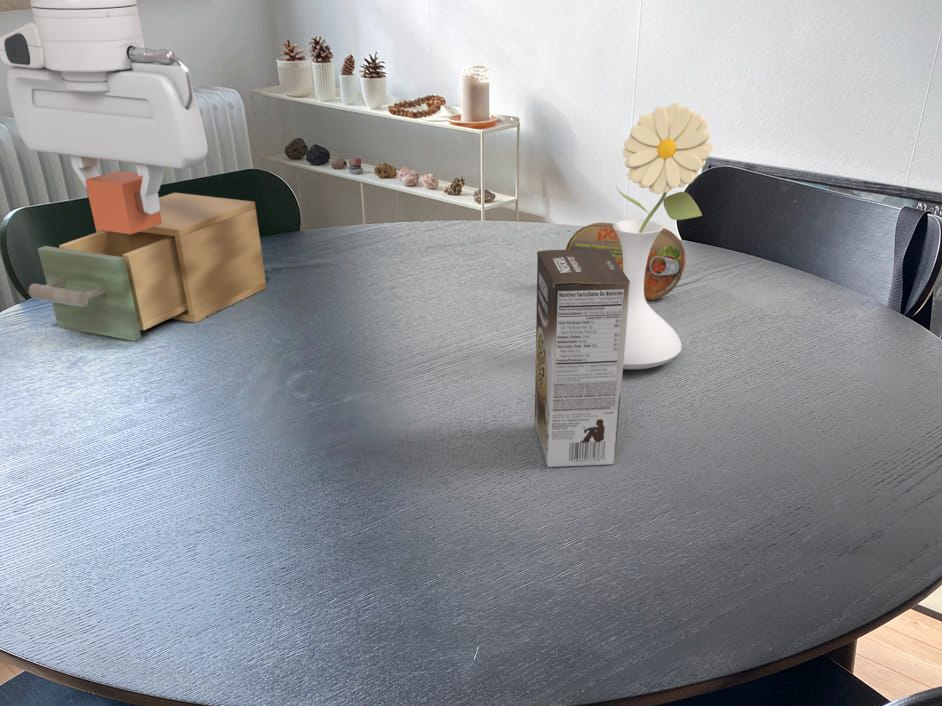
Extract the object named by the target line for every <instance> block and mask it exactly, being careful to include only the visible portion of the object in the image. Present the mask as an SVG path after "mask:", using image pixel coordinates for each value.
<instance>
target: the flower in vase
mask: <svg viewBox="0 0 942 706" xmlns="http://www.w3.org/2000/svg"><path fill="white" fill-rule="evenodd" d="M708 124H709V123H708V120H706V119H704V118H703V115H702V114H701V113H697V114H696V112H695V111H693V110H692V108H691V107H689V106H682V105H681V106H680V104H679V103H678V102H673V103H671V104H670V105H669V106H665V107H664V106H661V105H659V106H657V107H655V108H654V110H653V112H650V113H648V114H646V113H643V114H641V115H640V116H639V118H638V121H637V123H636V125H633V126H632V127H631V128H630V134H629V136H628V139H626V140H625V141H624V145H623V147H624V148H623V150H622V157H624V158H625V161H624V167H626V168H627V169H628V171H627V173H626V177H627V178H628V179H629V180H631V182H632V183H633V184H638V187H639V188H641V189H644V188H645V189H647V188H648V190H649V192H650V193H653V194H656V195H661V194H662V196H661V197H660V199H659V200H658V202H657V203H656V204H655V206H654V207H653V209H652V210H651V211H650V212H649V211H647V210H646V208H645V207H644V206H643V205H642V204H641V203H640V202H639V201H637V200H636V199H634V198H632V197H630V196H628V195H626V194H624V193H623V192H622V191H621V190H620V189H619V188H618V186H617V185H615V186H616V190H617V191H618V193H619V194H620V195H621V196H622V197H623V198H625V199H626V200H628V202H631V203H633V204H634V205H636V206H638V207H639V208H641V210H643V211H644V212H646V213H647V214H648V215H647V216H646V218H645V219H626V220H621V221H617V222H615V223H613V224H614V225H613V229H614V230H615V232H616V234H617V235H618V238H619V240H620V243H621V247H622V255H623V272H624V273H625V275H626V276H627V278H628V279H629V281H630V290H629V303H628V315H627V327H626V339H625V351H624V362H623V370H646V369H651V368H656V367H659V366H662V365H665V364H668V363H670V362H672V361H673V360H675V359H676V357H678V355H679V354H680V352H681V351H682V348H683V347H682V342H681V339H680V336H679V335H678V334H677V332H676V331H675V330H674V328H673V327H672V326H671V325H670V324H669V323H668V322H667V321H665V319H664V318H662V317H661V316H660V315H659V314H658V313H657V312H656V311H655V310H654V309H653V308H652V307H651V306H650V305H649V303H648V302H647V300H645V297H644V277H645V269H646V264H647V259H648V256H649V252H650V249H651V247H652V244H653V242H654V240H655V239H656V237H657V236H658V234H659V233H660V232H661V231H662V229H663V228H664V226H663V225H662V224H661V223H659V222H656V221H653V220H652V221H651V218H652V217H653V216H654V214H655V213H656V212H657V210H658V209H659V208H660V207H661V205H663V207H664V210H665V211H666V214H667V215H668V217H669V218H670V219H671V220H674V221H683V220H688V219H694V218H699V217H702V216H703V214H702V212H701V210H700V208H699V206H698V204H697V203H696V202H695V200H694V199H693V198H692V196H691V195H690V194H689V193H688V192H687V191H678V192H675V193H673V194H670V195H668V196H667V194H668V193H669V192H671V191H672V189H676V188H684V187H686V185H690V184H692V183H693V182H694V181H695V179H696V178H697V177H698V175H699V170H700V169H702V168H704V167H705V166H706V163H707V162H706V160H707V159H708V158H709V157H710V154H711V152H712V151H713V144H712V143H711V142H710V141H709V140H710V138H711V133H710V131H709V130H707V128H708Z"/></svg>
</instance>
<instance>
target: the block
mask: <svg viewBox="0 0 942 706" xmlns="http://www.w3.org/2000/svg"><path fill="white" fill-rule="evenodd" d="M142 179H143V176H139V175H138V174H137V172H130V171H125V170H124V171H123V170H121V171H120V170H116V171H112V172H108V173H105V174H100V176H97V177H93V178H90V179H86V180H85V182H86V186H87V187H86V191H88V192H87V196H88V200H90V201H89V204H90V205H89V206H90V209H91V214H92V218H93V222H94V227H95V230H96V229H98V230H105V231H111V232H118V233H124V234H134V233H137V232H140V231H143V230H146V229H149V228H151V227H154V226H157V225H160V224H162V221H161V215H160V211H159V212H157V213H154V214H145V213H140V212H138V211H137V208H136V202H135V198H134V194H136V193H139V192H140V190H141V184H142Z"/></svg>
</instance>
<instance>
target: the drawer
mask: <svg viewBox="0 0 942 706" xmlns="http://www.w3.org/2000/svg"><path fill="white" fill-rule="evenodd" d="M58 246H59V247H55V246H49V245H44V246H41V247H37V252H38V256H39V260H40V263H41V267H42V270H43V275H44V279H45V283H46V284H40V283H31V284H30V285H29V287H28V295H29V296H30V297H31V299H34V300H39V301H44V302H50V303H51V304H52V308H53V313H54V317H55V320H56V323H57V324H56V325H57V327H58V328H61V329H63V328H64V329H69V330H73V331H80V332H84V333H90V334H95V335H100V336H107V337H112V338H116V339H123V340H128V341H134V342H135V341H137V340H139V339H141V338H142V334H141V331H146V330H147V329H150V328H152V327H155V326H156V325H158V324H161V323H163V322H165V321H167V320H170V318H171V317H174V316H176V315H178V314H180V313H182V312H184V311H186V310H188V307H187V301H186V296H185V290H184V285H183V280H182V274H181V269H180V264H179V258H178V253H177V248H176V242H175V236H168V235H160V234H153V233H145V232H137V233H134V234H124V233H118V232H111V231H105V230H103V231H100V232H93V233H91V234H88V235H85V236H83V237H79V238H77V239H74V240H70V241H68V242H65V243H62V244H59V245H58Z"/></svg>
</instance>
